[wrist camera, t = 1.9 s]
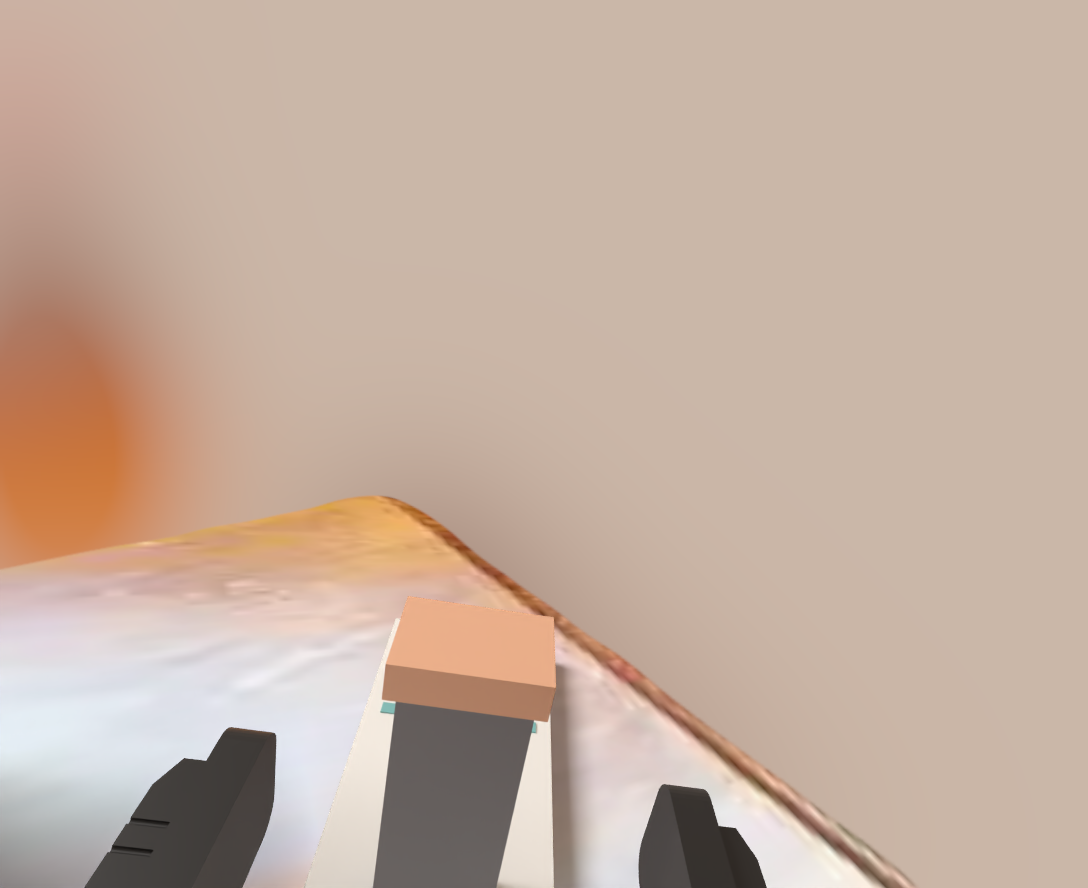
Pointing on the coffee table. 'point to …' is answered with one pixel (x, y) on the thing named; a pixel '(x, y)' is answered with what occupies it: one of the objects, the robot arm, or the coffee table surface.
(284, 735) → the coffee table surface
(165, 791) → the robot arm
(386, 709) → the plate
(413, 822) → the post
